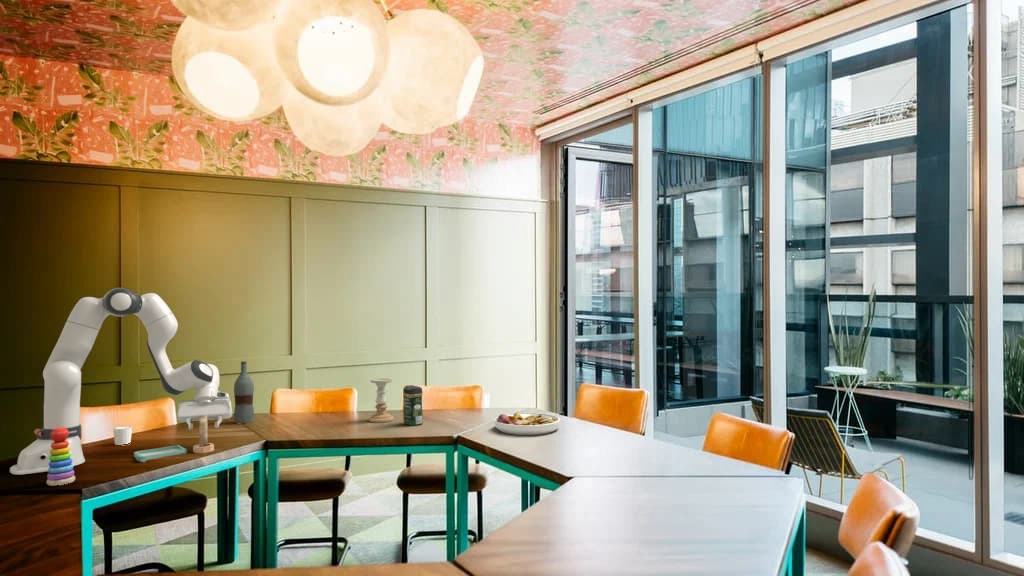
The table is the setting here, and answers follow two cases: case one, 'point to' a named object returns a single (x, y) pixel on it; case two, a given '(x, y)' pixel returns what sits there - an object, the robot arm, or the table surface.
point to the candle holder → (381, 402)
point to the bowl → (527, 423)
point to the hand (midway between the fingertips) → (203, 427)
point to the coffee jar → (412, 405)
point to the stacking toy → (60, 459)
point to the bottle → (243, 397)
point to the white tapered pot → (122, 435)
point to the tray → (159, 453)
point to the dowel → (203, 430)
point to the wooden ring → (203, 448)
